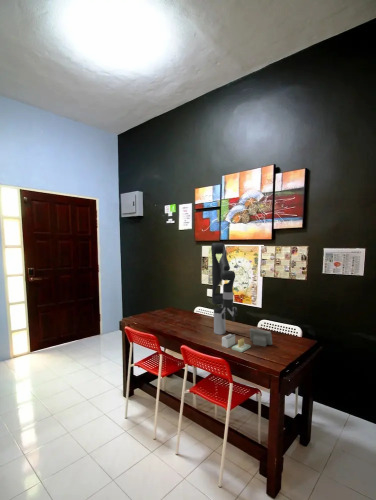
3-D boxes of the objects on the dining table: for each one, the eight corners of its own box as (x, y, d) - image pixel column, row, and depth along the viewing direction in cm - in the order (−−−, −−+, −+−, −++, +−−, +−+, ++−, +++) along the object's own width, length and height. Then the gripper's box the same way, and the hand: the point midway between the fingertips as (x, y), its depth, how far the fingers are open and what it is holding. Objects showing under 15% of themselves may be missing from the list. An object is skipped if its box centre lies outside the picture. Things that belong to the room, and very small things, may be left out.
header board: (240, 344, 177) (240, 335, 177) (250, 347, 171) (250, 338, 171) (231, 349, 168) (231, 339, 168) (241, 352, 163) (241, 342, 163)
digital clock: (273, 345, 175) (273, 330, 175) (268, 348, 169) (268, 333, 169) (253, 339, 187) (253, 325, 187) (247, 342, 180) (247, 328, 180)
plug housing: (229, 342, 181) (229, 333, 181) (235, 343, 178) (235, 334, 178) (221, 345, 174) (221, 336, 174) (227, 347, 171) (227, 338, 171)
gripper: (239, 298, 174) (239, 320, 174) (223, 296, 184) (223, 317, 184) (233, 300, 168) (233, 323, 168) (217, 297, 178) (217, 319, 178)
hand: (228, 320), depth 176 cm, fingers open, 8 cm apart
